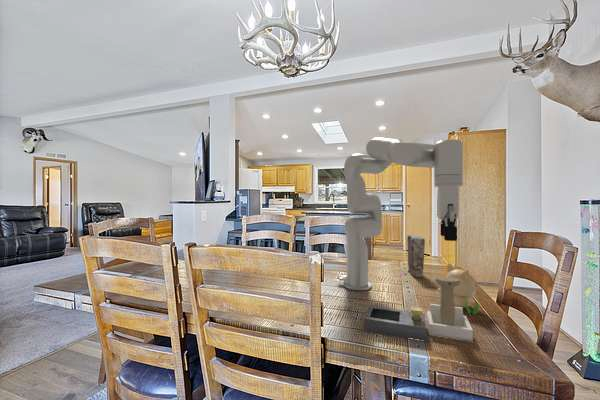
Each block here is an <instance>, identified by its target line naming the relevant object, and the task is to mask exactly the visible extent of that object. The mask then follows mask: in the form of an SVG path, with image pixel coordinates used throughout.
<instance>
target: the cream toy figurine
mask: <svg viewBox="0 0 600 400" xmlns="http://www.w3.org/2000/svg"><path fill="white" fill-rule="evenodd" d="M446 267H447V274H446V276H445V277H452V278H457V279H459V280H460V284H459V285H458V286H455V287H454V303H455V307H462V308H463V309H464V308H465V309H466V311H467V314H473V315H478V311H479V303H478V301H477V300H476V299H474V301H475V305H474V307H473V310H472V309H470V308H469V307H471V305H472V303H471V299H470V298H473V297H474V296H475V295H476V293H477V286H478V285H477V282H476V281H477V280H475V278H474V276H473V275H472V274H471V273H470V272H469V269H465V270H464V269H458V268H456V267H455V266H454V265H453V264H452V263H447V266H446ZM437 293H438V294H439V295H440V296H441V287H438V288H437Z"/></svg>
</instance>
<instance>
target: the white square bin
mask: <svg viewBox="0 0 600 400" xmlns="http://www.w3.org/2000/svg"><path fill="white" fill-rule="evenodd" d="M426 312H427V314H426V315H427V316H426V318H427V321H426V323H427V322H428V323H427V328H429V329H428V335H433V336H432V337H434V336H441V337H447V338H451V339H450V340H453V339H455V341H459V340H460V341H459V342H465V343H466V342H467V343H471V344H472V343H474V330H473V328H472V326H471V324H470V322H469V319H468V317H467V315H464V308H462V307H457V306H455V321H454V324H453V325H454V326H450V325H443V324H441V314H440V304H436V303H430V310H427V311H426ZM447 338H446V339H447Z"/></svg>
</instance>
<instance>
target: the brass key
mask: <svg viewBox="0 0 600 400" xmlns="http://www.w3.org/2000/svg"><path fill="white" fill-rule="evenodd" d="M410 311H411V313H413V320H415V321H420V314H421V315H422V313H423V309H422V307H420V306H410Z"/></svg>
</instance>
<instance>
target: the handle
mask: <svg viewBox="0 0 600 400" xmlns="http://www.w3.org/2000/svg"><path fill="white" fill-rule="evenodd" d="M435 283H436V284H437V285H439V286H440V288H441V295H440V303H439V305H440V314H441V324H443V325H450V326H454V325H453V324H454V321H455V307H456V306H455V303H454V287H455V286H458V285H459V284H460V280H459V279H457V278H452V277H446V276H436V277H435Z"/></svg>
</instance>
